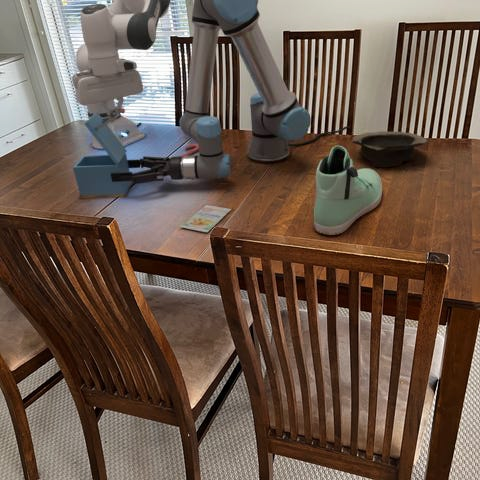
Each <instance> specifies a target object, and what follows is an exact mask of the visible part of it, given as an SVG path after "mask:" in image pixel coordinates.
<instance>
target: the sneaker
mask: <svg viewBox="0 0 480 480" xmlns="http://www.w3.org/2000/svg"><path fill="white" fill-rule="evenodd" d="M317 165H318V166H317V168H316V172H315V201H314V207H313V225H314V229H315V231H316V232H318V233H320V234H323V235H326V236H327V235H328V236H336V235H339V234H342V233H344V232H345V231H347V230H348V229H349V228H350V227H351V226H352V225H353V224H354V222H356V221H357V220H358V219H359V218H360V217H362V216H363V215H365V214H367V213H370V212H372V210H374V209H375V208H377V207H378V205H380V203H381V200H382V196H383V184H382V183H383V182H382V179H381V176H380V175H379V173H378V172H377V171H376V170H374V169H372V168H367V167H365V168H358V169H357V168H355V167H354V161H353V159H352V158H351V156H350V153H349V152H348V150H347V148H345V147H344V146H342V145H334V146H333V147H331V149H330V151H329V154H327V155H326V156H325V157H324V158H322V159H321V160H320V161H319V163H318V164H317ZM343 230H344V231H343ZM319 231H320V232H319ZM322 232H323V233H322ZM339 232H340V233H339ZM326 233H327V234H326ZM328 233H329V234H328ZM335 233H337V234H335Z"/></svg>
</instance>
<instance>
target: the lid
mask: <svg viewBox="0 0 480 480" xmlns="http://www.w3.org/2000/svg"><path fill="white" fill-rule="evenodd" d="M120 114H121V113H116V112H114V113H113V115H111V116H110V117H108V118H107V119H105V120H103V119H102V118H101V116H100V115H99V114H98V112H96V113H95V114H94V115H93V116H91V117H90V118H88V119H87V120H86V121H85V122H84V126H85V127H86V128H87V129H88V131H89V132H90V133H91V135H92V134H93V136H94V137H95V138H96V140H97V141H98V142H99V143H100V145H101V146H102V147H103V148H104V149H103V150H104V151H105V153H107V155H109V156H110V157H111V159H112V160H113V161H114V162H115V164H118V163H119V162H120V161H121V159H122V158H123V156H124V155H125V154H127V152H128V150H127V149H126V148H125V146H123V145H122V144H121V142H120V141H119V140H118V139H117V137H116V136H115V135H114V133H113V132H112V131H111V129H110V128H109V127H108V125H107V124H108V123H109V122H111V123H112V122H114V120H115V119H116V118H117V117H118V116H119V115H120Z"/></svg>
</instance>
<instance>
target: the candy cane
mask: <svg viewBox="0 0 480 480" xmlns="http://www.w3.org/2000/svg"><path fill="white" fill-rule="evenodd" d="M184 149H185V150H187V151H186V152H184V153H182V154H181V155H180V156H181V157H182V158H183V157H184V156H191V155H193V154H194V153H196V152H198V151H199V146H198V143H196V144H194V143H192V144H188V145H186V146H185V147H184ZM189 149H190V150H189Z"/></svg>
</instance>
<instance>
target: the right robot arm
mask: <svg viewBox="0 0 480 480" xmlns="http://www.w3.org/2000/svg"><path fill="white" fill-rule="evenodd" d="M258 4H259V0H193V7H192V15H191V23H192V25H193V27H194V28H193V36H192V46H191V54H190V56H191V57H190V64H189V73H188V80H187V81H188V83H187V90H186V91H187V92H186V98H185V99H186V100H185V108H184V109H185V110H184V113H182V115H181V117H180V118H179V124H178V125H179V128H180V129H181V131H182V132H183V134H184V135H186V136H187V137H188V138H191V139H192V140H193V141H195V142H196V144H197V145H198V146H199V150H198V151H199V152H198V153H199V155H197V154H196V155H195V154H194V155H193V154H192V155H189V156H184V157H183V158H182V157H181V155H177V156H170V157H169V156H166V157H161V156H160V157H159V156H144V155H143V156H142V158H141V157H140V158H139V159H127V161H128V166H129V169H140V168H141V169H144V168H147V169H146V170H140V171H137V172H132V171H130V172H125V173H111V178H112V182H121V181H132V185H139V184H146V183H152V182H164V181H165V178H164V177H170V178H171V180H172V181H182V180H192V181H195V180H199V179H200V180H201V179H202V180H203V179H224V178H229V177H230V176H231V174H232V162H231V161H232V160H231V156H230V154H229V153H224V150H223V138H222V127H221V120H220V119H219V118H218V117H217V116H214V115H209V114H208V113H209V107H210V106H209V105H210V98H211V92H212V83H213V76H214V69H215V61H216V54H217V47H218V41H219V40H218V39H219V33H220V31H222V33H223V35H224V36H225V37H229V38H231V39H232V42H233V44H234V46H235V48H236V50H237V52H238V54H239V56H240V58H241V60H242V62H243V64H244V66H245V68H246V70H247V72H248V74H249V76H250V78H251V80H252V82H253V84H254V86H255V88H256V90H257V92H258V93H255V94H252V95H251V96H250V102H249V103H250V104H249V108H250V119H251V122H250V123H251V139H250V143H249V147H248V159H249V160H251V161H253V162H255V163H261V164H271V163H279V162H282V161H284V160H286V159H288V158H289V157H290V155H291V154H290V153H291V152H290V151H291V150H290V147H299V146H303V145H307V144H310V143H312V142H314V141H316V140H317V139H318V138H319V137H322V136H325V135H333V134H339V133H342V132H343V131H345V130H352V127H350V126H349V125H347V126H346V125H345V126H344V127H342V128H340V129H338V130H332V131H325V132H320V133H319V134H316V136H315V137H313V138H312V139H309V140H306V141H302V142H298V141H300V140H301V139H303V138H305V136H306V135H307V133H308V131H309V129H310V127H311V123H312V118H311V114H310V113H309V111H308V110H307V109H306V108H305V107H303V106H301V104H300V102H299V99H298V97H297V96H296V93H295V92H293V91H290V90H289V89H288V88H287V86H286V83H285V81H284V79H283V78H284V77H283V76H282V74H281V72H280V69H279V68H278V66H277V65H278V64H277V63H276V60H275V59H274V56H273V54H272V51H271V50H270V47H269V45H268V43H267V41H266V38H265V35H264V34H263V31H262V29H261V27H260V25H259V19H260V17H261V15H260V12H259V8H258ZM296 142H297V143H296Z"/></svg>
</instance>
